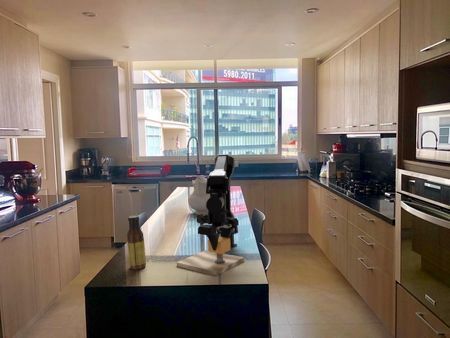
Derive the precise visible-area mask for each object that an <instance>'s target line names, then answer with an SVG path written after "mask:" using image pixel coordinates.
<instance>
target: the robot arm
mask: <svg viewBox="0 0 450 338" xmlns="http://www.w3.org/2000/svg"><path fill="white" fill-rule="evenodd" d="M235 168H236V160H235V158H234V157H232V156H230V155H229V154H228V153H218V154H216V157H214V170H213V171H211V172H209V178H208V177H207V178H206V179H207V185H206V194H210V198H209V199H208V200H207V202H206V207H207V209H208V214H206V215H203V214H200V215H197V214H196V223H198V224H200V225H199V226H198V228H197V234H198V235H202V236H203V235H204V236H206V237H207V238H208V240H209V241H210V243H211V246H212V249H213V250H214V251H215V250H216V248H217V244H218V239H219V237H225V238H230V249H232V248H235V247H236V246H238V243H235V235H236V234H238V233H239V228H238V227H239V226H240V225H239V219H238V218H237V217H235V214H234V213H233V212H232V206H231V203H232V200H231V199H232V198H231V191H232V190H231V177H232V175H233V173H234V170H235ZM209 187H210V189H209Z"/></svg>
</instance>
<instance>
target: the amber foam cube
mask: <svg viewBox="0 0 450 338" xmlns="http://www.w3.org/2000/svg"><path fill="white" fill-rule="evenodd" d="M207 249H208V252H213V253H218V254H226V252H229V251H231V249H232V248H230V238H225V237H220V236H219V239H218V244H217V248H216V250H215V251H214V250H213V249H212V246H211V243H210V241H209V239H208V240H207Z"/></svg>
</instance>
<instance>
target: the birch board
mask: <svg viewBox="0 0 450 338" xmlns="http://www.w3.org/2000/svg"><path fill="white" fill-rule="evenodd" d="M244 262H245V258H244V257H243V256H237V255H233V254H228V253H223V254H218V253H213V252H208V250H207V249H205V250H203V251H200V252H198V253H195V254H194V255H193V254H192V255H190V256H188V257H186V258H183V259H181V260H178V261H177V262H176V267H179V268H184V269H188V270H192V271H195V272H200V273H204V274H207V275H211V276H218V275H219V276H220V275H221V274H222V273H224V272H226V271H228V270H230V269H232V268H234V267H236V266H238V265H240V264H241V263H244Z"/></svg>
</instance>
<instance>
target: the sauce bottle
mask: <svg viewBox="0 0 450 338" xmlns="http://www.w3.org/2000/svg"><path fill="white" fill-rule="evenodd" d="M127 221H128V226H129V227H128V231H127V232H126V233H127V234H126V238H127V240H126V241H127V243H126V244H127V251H128V253H127V254H128V263H129V264H128V265H129V267H130V269H131V270H136V271H137V270H141V269H144V268H145V267H147V263H146V261H147V260H146V257H147V256H146V247H145V238H144V232H143V230H142V229H141V227H140V216H139V215H130V216H128V217H127Z"/></svg>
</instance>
